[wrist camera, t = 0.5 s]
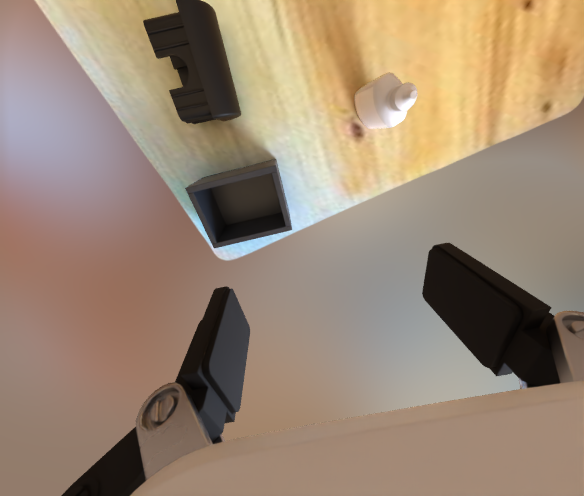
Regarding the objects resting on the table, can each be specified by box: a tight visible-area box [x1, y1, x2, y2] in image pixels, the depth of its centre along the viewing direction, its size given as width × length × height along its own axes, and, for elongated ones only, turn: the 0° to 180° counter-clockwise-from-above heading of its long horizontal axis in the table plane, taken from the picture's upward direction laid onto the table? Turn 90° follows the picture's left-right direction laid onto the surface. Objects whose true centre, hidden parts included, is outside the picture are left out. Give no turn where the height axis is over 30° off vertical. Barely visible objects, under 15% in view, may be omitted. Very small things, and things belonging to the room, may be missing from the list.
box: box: [185, 159, 292, 248], centre depth 33 cm, size 10×13×8 cm
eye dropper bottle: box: [355, 73, 417, 129], centre depth 26 cm, size 4×6×12 cm
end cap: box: [143, 0, 241, 124], centre depth 25 cm, size 10×7×7 cm
